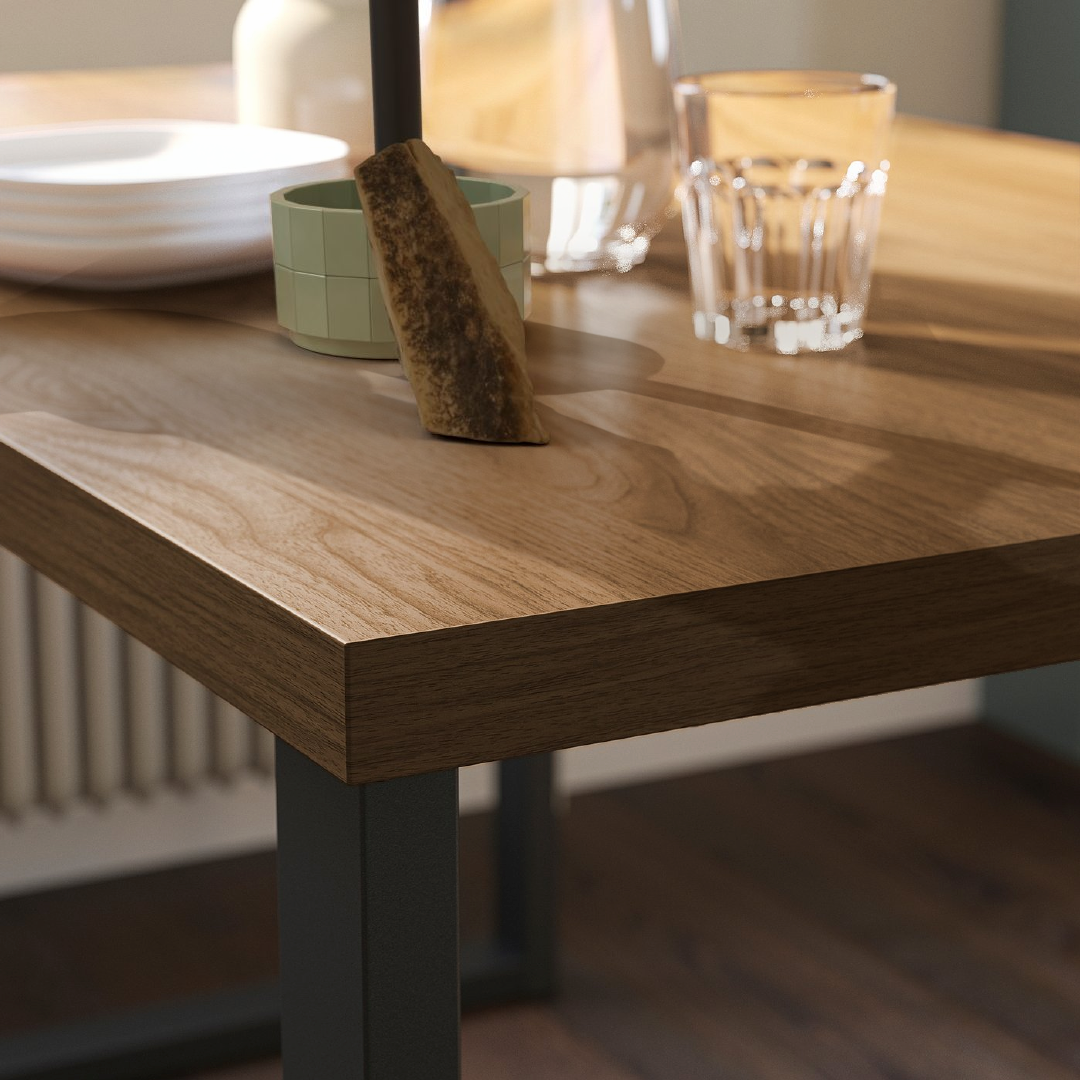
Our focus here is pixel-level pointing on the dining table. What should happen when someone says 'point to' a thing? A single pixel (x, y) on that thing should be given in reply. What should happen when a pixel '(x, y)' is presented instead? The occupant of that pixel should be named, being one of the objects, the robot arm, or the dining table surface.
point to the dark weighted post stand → (395, 71)
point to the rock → (446, 300)
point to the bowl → (371, 261)
